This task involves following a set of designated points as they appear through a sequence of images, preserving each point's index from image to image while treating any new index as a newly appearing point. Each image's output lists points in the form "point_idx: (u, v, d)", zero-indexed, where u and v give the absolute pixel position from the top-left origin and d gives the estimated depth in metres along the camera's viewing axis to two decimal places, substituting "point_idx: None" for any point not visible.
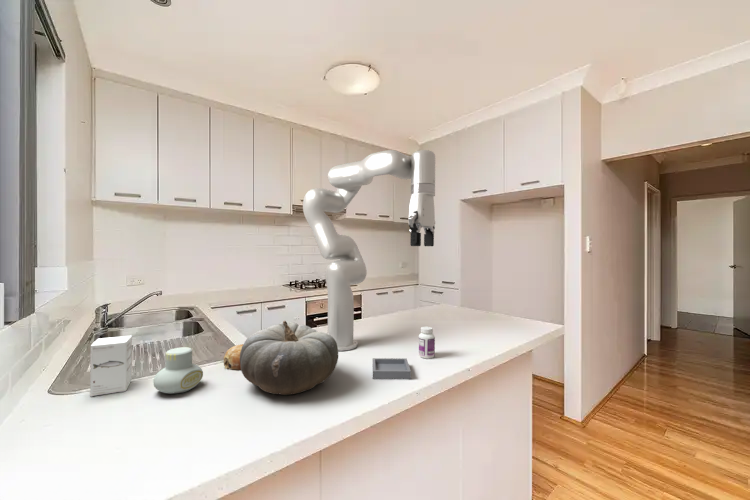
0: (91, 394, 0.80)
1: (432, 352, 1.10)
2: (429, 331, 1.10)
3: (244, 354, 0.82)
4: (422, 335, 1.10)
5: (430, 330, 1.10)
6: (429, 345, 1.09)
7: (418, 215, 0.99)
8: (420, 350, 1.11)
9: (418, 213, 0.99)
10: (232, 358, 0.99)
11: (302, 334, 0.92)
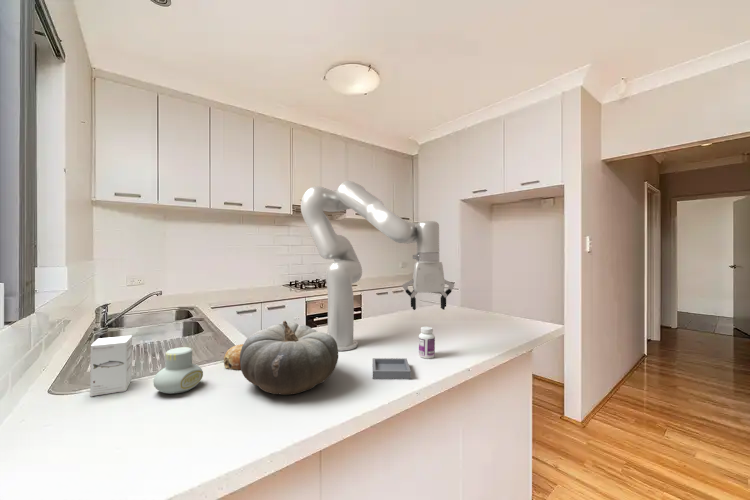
0: (91, 394, 0.80)
1: (432, 352, 1.10)
2: (429, 331, 1.10)
3: (244, 354, 0.82)
4: (422, 335, 1.10)
5: (430, 330, 1.10)
6: (429, 345, 1.09)
7: None
8: (420, 350, 1.11)
9: None
10: (232, 358, 0.99)
11: (302, 334, 0.92)
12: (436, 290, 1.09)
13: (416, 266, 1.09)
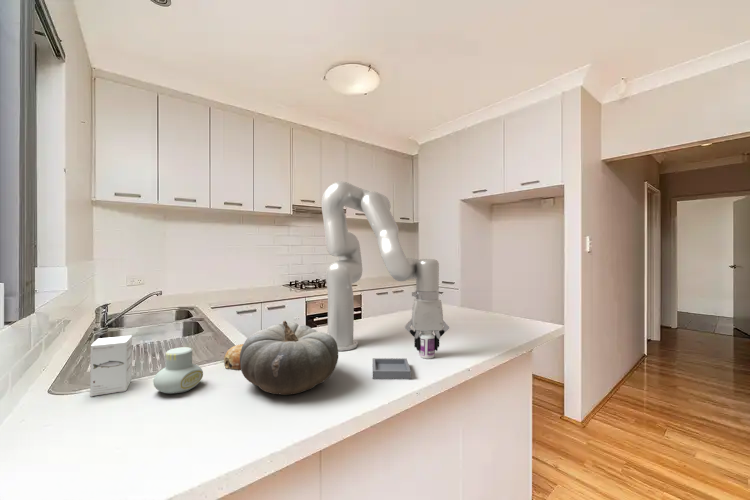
0: (91, 394, 0.80)
1: (432, 352, 1.10)
2: (429, 331, 1.10)
3: (244, 354, 0.82)
4: (422, 335, 1.10)
5: None
6: (429, 345, 1.09)
7: None
8: (420, 350, 1.11)
9: None
10: (232, 358, 0.99)
11: (302, 334, 0.92)
12: (435, 329, 1.09)
13: (415, 304, 1.10)
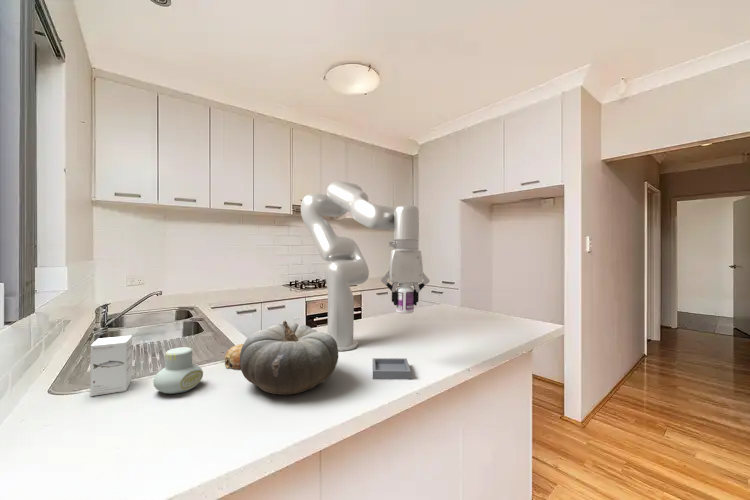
0: (91, 394, 0.80)
1: (411, 306, 1.01)
2: (408, 284, 1.01)
3: (244, 354, 0.82)
4: (400, 288, 1.01)
5: (409, 283, 1.01)
6: (407, 299, 1.00)
7: None
8: (398, 305, 1.01)
9: None
10: (233, 357, 0.99)
11: (302, 334, 0.92)
12: (414, 281, 1.00)
13: (392, 254, 1.00)
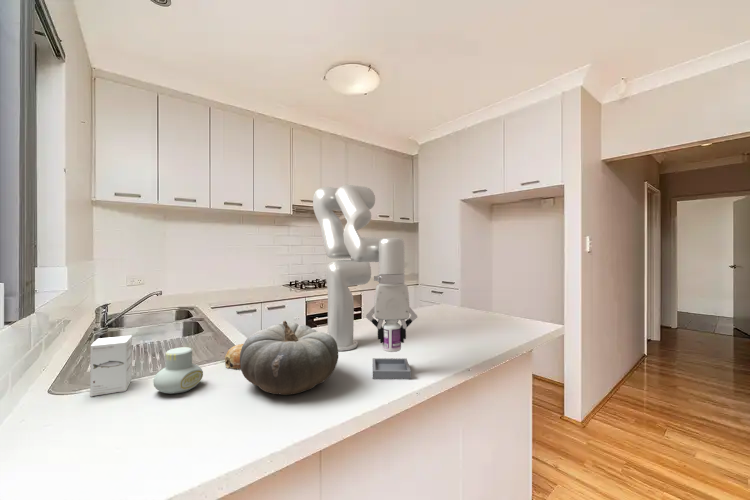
0: (91, 394, 0.80)
1: (397, 344, 0.95)
2: (394, 320, 0.95)
3: (244, 354, 0.82)
4: (386, 325, 0.96)
5: None
6: (393, 336, 0.95)
7: None
8: (384, 342, 0.96)
9: None
10: (233, 357, 0.99)
11: (302, 334, 0.92)
12: (400, 317, 0.95)
13: (377, 289, 0.95)
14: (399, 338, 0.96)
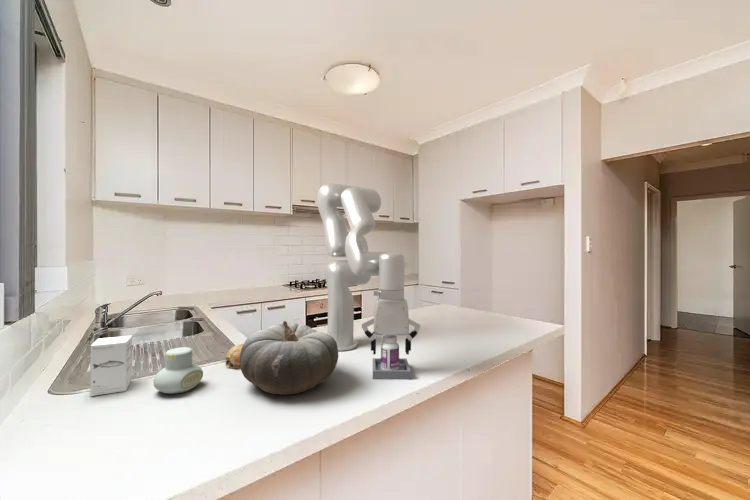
0: (91, 394, 0.80)
1: (395, 364, 0.96)
2: (392, 340, 0.96)
3: (244, 354, 0.82)
4: (384, 345, 0.96)
5: (393, 339, 0.96)
6: (392, 356, 0.95)
7: None
8: (382, 362, 0.97)
9: None
10: (233, 357, 0.99)
11: (302, 334, 0.92)
12: (399, 333, 0.95)
13: (376, 304, 0.95)
14: (397, 358, 0.96)
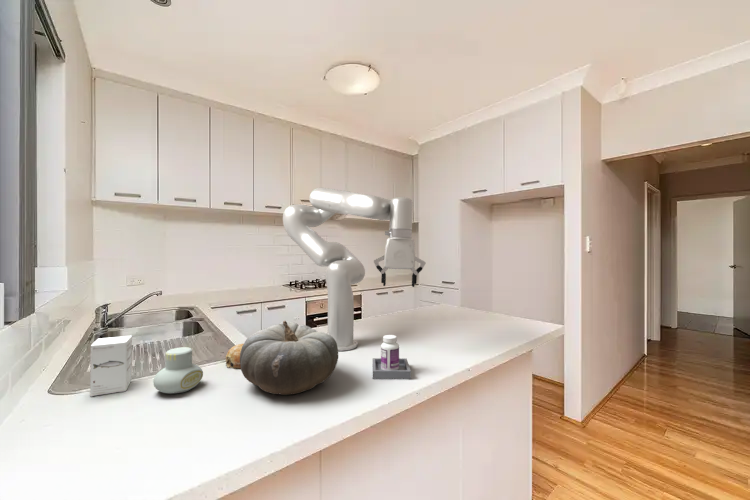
0: (91, 394, 0.80)
1: (396, 364, 0.96)
2: (392, 340, 0.96)
3: (244, 354, 0.82)
4: (384, 345, 0.96)
5: (393, 339, 0.96)
6: (392, 357, 0.95)
7: None
8: (382, 362, 0.97)
9: None
10: (234, 357, 0.99)
11: (302, 334, 0.92)
12: (406, 267, 1.08)
13: (387, 241, 1.09)
14: (397, 358, 0.96)
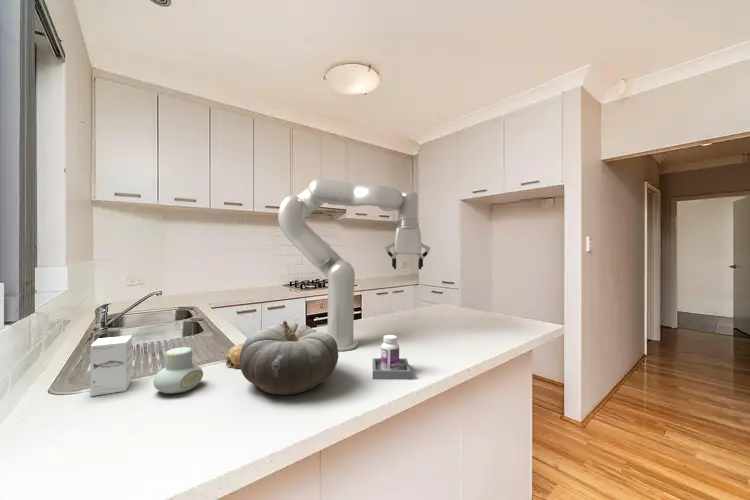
0: (91, 394, 0.80)
1: (396, 364, 0.96)
2: (392, 340, 0.96)
3: (244, 354, 0.82)
4: (384, 345, 0.96)
5: (394, 339, 0.96)
6: (392, 357, 0.95)
7: None
8: (382, 362, 0.97)
9: None
10: (234, 357, 1.00)
11: (302, 334, 0.92)
12: (414, 252, 1.25)
13: (396, 230, 1.25)
14: (397, 358, 0.96)
